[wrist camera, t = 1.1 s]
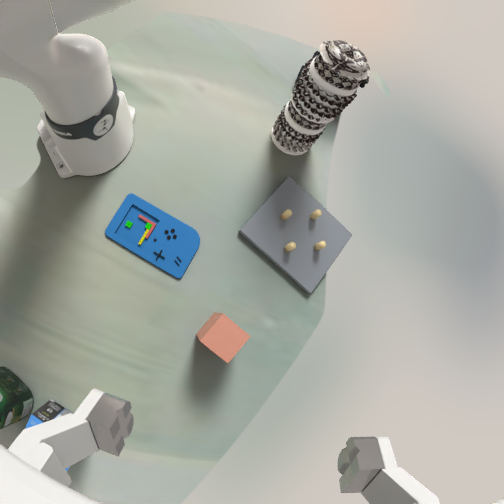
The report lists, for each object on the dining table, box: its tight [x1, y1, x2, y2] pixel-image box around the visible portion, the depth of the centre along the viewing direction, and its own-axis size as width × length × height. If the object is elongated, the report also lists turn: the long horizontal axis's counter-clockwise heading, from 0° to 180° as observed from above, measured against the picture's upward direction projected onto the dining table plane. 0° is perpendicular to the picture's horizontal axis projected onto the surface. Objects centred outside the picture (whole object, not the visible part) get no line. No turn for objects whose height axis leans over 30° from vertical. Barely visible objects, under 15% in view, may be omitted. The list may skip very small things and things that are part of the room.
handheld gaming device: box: [105, 194, 200, 279], centre depth 47 cm, size 8×1×15 cm
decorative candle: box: [271, 40, 370, 155], centre depth 45 cm, size 9×9×25 cm
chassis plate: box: [239, 176, 352, 294], centre depth 51 cm, size 16×14×4 cm
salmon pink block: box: [196, 313, 250, 363], centre depth 42 cm, size 5×5×10 cm
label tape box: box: [25, 399, 73, 471], centre depth 32 cm, size 9×4×12 cm, turn 64°
